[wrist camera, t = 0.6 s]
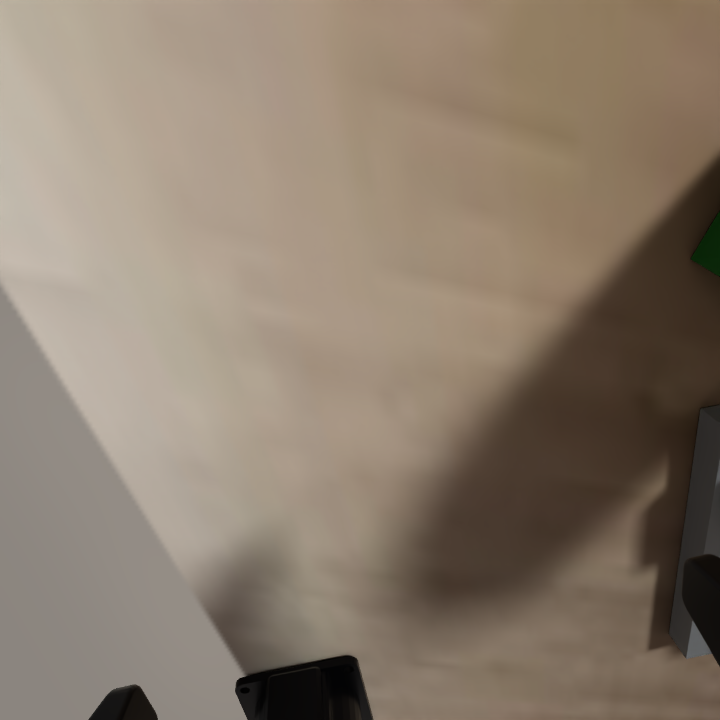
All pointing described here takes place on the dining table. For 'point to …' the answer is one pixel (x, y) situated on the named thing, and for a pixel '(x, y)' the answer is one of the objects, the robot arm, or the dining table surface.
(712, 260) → the milk carton
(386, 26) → the dining table surface
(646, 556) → the dining table surface
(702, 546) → the console
